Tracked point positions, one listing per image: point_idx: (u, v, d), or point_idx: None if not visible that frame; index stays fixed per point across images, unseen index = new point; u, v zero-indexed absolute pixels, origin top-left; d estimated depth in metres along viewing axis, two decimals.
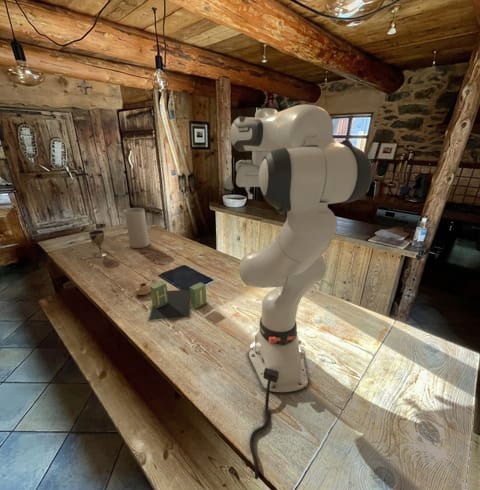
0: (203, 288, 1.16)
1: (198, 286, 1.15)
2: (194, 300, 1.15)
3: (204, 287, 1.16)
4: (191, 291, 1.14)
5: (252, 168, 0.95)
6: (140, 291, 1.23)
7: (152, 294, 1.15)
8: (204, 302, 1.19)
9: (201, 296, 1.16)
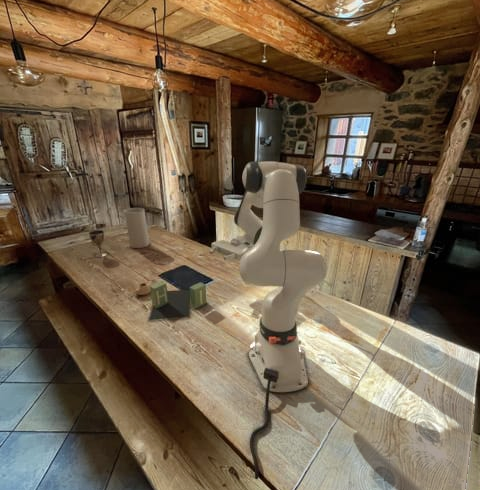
0: (203, 288, 1.16)
1: (198, 286, 1.15)
2: (194, 300, 1.15)
3: (204, 287, 1.16)
4: (191, 291, 1.14)
5: (227, 242, 1.29)
6: (140, 291, 1.23)
7: (152, 294, 1.15)
8: (204, 302, 1.19)
9: (201, 296, 1.16)
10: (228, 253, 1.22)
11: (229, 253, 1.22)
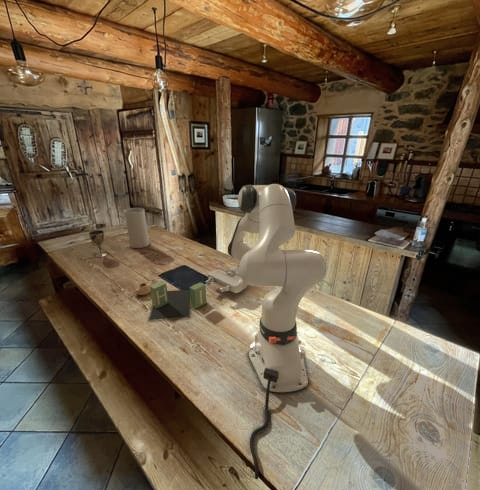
0: (203, 288, 1.16)
1: (198, 286, 1.15)
2: (194, 300, 1.15)
3: (204, 287, 1.16)
4: (191, 291, 1.14)
5: (223, 272, 1.32)
6: (140, 291, 1.23)
7: (152, 294, 1.15)
8: (204, 302, 1.19)
9: (201, 296, 1.16)
10: (223, 284, 1.26)
11: (224, 284, 1.25)
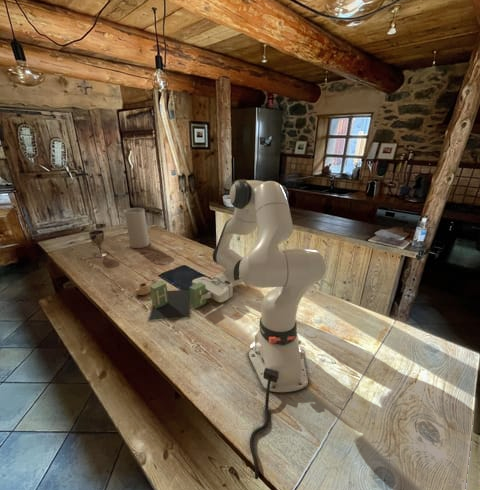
0: (203, 288, 1.16)
1: (198, 286, 1.15)
2: (194, 300, 1.15)
3: (204, 287, 1.16)
4: (191, 291, 1.15)
5: (208, 279, 1.26)
6: (140, 291, 1.23)
7: (152, 294, 1.15)
8: (204, 302, 1.19)
9: None
10: (208, 292, 1.19)
11: None
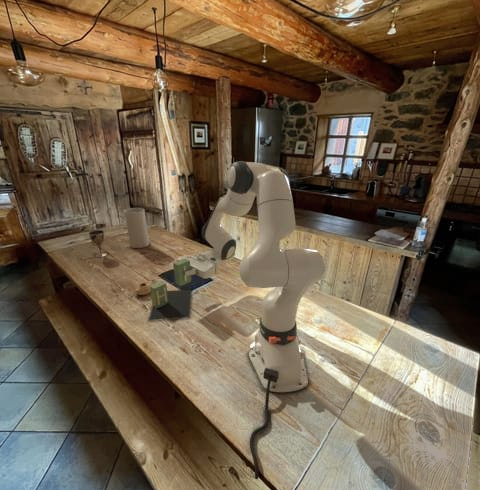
0: (187, 264, 1.12)
1: (182, 262, 1.11)
2: (178, 276, 1.11)
3: (188, 263, 1.13)
4: (175, 267, 1.11)
5: (194, 257, 1.22)
6: (140, 291, 1.23)
7: (152, 294, 1.15)
8: (189, 279, 1.15)
9: None
10: None
11: None
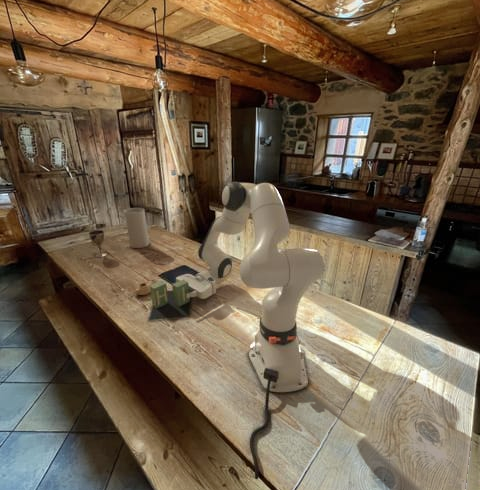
0: (186, 285, 1.17)
1: (181, 283, 1.16)
2: (177, 297, 1.16)
3: (187, 284, 1.17)
4: (174, 288, 1.15)
5: (192, 276, 1.27)
6: (140, 291, 1.23)
7: (152, 294, 1.15)
8: (187, 299, 1.20)
9: (184, 293, 1.17)
10: (191, 289, 1.20)
11: (192, 289, 1.19)
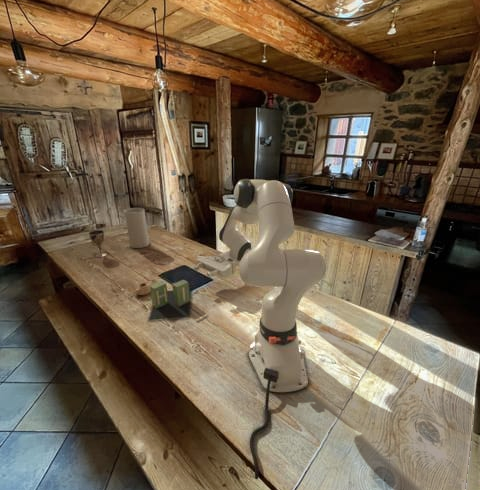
0: (186, 285, 1.17)
1: (181, 283, 1.16)
2: (177, 297, 1.16)
3: (187, 284, 1.17)
4: (174, 288, 1.15)
5: (212, 258, 1.33)
6: (140, 291, 1.23)
7: (152, 294, 1.15)
8: (187, 299, 1.20)
9: (184, 293, 1.17)
10: (212, 269, 1.26)
11: (213, 269, 1.26)
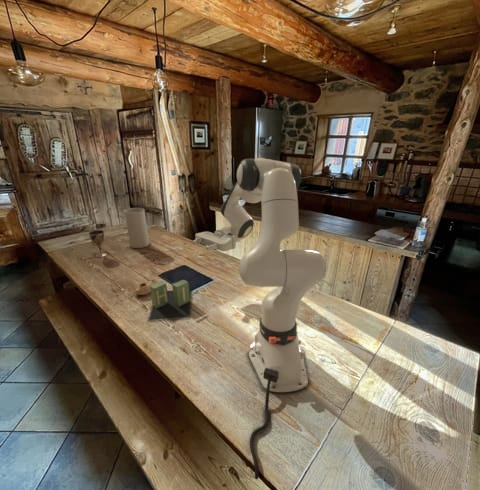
0: (186, 285, 1.17)
1: (181, 283, 1.16)
2: (177, 297, 1.16)
3: (187, 284, 1.17)
4: (174, 288, 1.15)
5: (211, 233, 1.28)
6: (140, 291, 1.23)
7: (152, 294, 1.15)
8: (187, 299, 1.20)
9: (184, 293, 1.17)
10: (211, 244, 1.21)
11: (212, 243, 1.21)
